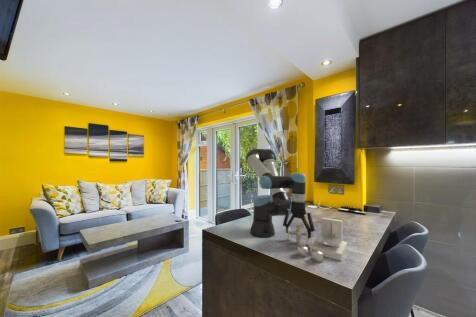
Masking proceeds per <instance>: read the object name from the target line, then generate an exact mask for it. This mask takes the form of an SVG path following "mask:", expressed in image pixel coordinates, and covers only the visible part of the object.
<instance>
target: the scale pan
mask: <svg viewBox="0 0 476 317" xmlns="http://www.w3.org/2000/svg"><path fill="white" fill-rule="evenodd" d="M313 242H318V243H322V244H327V245H331V246H335V247H339V246H340V244H341V242H342V238H339V237H334V236H329V235H324V234H322V233H319V234H317V236H316V237H315V238H314V239H313Z"/></svg>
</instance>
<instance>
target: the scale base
mask: <svg viewBox="0 0 476 317" xmlns="http://www.w3.org/2000/svg"><path fill="white" fill-rule="evenodd" d="M343 227H344V226H343V220H341V219H334V218H329V217H321V234H324V235H329V236H334V237H339V238H342V242H341V244H340V246H339V247H335V246H331V245H327V244H322V243H318V242H314V241H313V242H312V243H311V244H310V246H309V253H311V254H312V249H318V250H321V251H323V257H326V258H329V259H333V260H337V261H343V258H344V256H345V254H346V252H347V248H348V241H344V239H343V236H344V235H343V233H344V231H343Z"/></svg>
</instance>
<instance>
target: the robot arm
mask: <svg viewBox="0 0 476 317" xmlns="http://www.w3.org/2000/svg"><path fill="white" fill-rule="evenodd" d="M277 157H278V155H277V153H276V151H275V150H274V149H270V148H267V149H265V148H252V149H250V150H249V151H248V152H247V154H246V156H245V161H246V164H248V166H250V167H251V168H252V169H253V171H254V173H255V175H257V177H258V178H259V182H258V183H259V186H260V189H262V190H263V189H264V190H270V192H271V195H270V194H261V195H258V196H257V195H256V196H255V197H254V199H253V205H252V206H253V211H252V212H253V215H252V216H253V221H252V224H251V227H250V234H251V235H252V236H254V237H258V238H271V237H274V236H275V235H276V234H275V233H276V232H275V231H276V230H275V226H274V223H273V217H279V216H285V217H284V220H283V223H282V226H283V227H285V229H286V230H285V233H286V234H287V241H289V240H291V234H289V231H292V228H291V225H292V223H293V221H294V219H300V220H301V221H302V223H303V224H304V227H305V229H306V231H305V232H306V237H305V240H306V242H305V243H306V244H305V245H306V246H307V245H309V244H310V239H311V238H312V233H313V232H314V231H315V230H316V229H315V226H314V222H313V218H312V212H311V211H307V210H306V202H305V201H306V184H307V183H306V182H307V180H306V174H305V173H297V172H296V173H295V172H294V173H292V174H291V175H279V173H278V170H277V168H276V164H277V161H278V158H277ZM284 189H289V190H291V191H290V192H291V196H289V194H288V191H285V190H284ZM305 215H306V216H307V219H306V216H305ZM289 216H291V217H290V218H289Z"/></svg>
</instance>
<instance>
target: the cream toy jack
mask: <svg viewBox="0 0 476 317" xmlns="http://www.w3.org/2000/svg"><path fill="white" fill-rule="evenodd" d="M306 232H307V231H301V224H300V223H297V224H296V229H295V230H294V231H292V230H291V231H289V234H291V235H292V236H296V241H295V242H296V243H297V244H301V236H304V237H305V236H306Z"/></svg>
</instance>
